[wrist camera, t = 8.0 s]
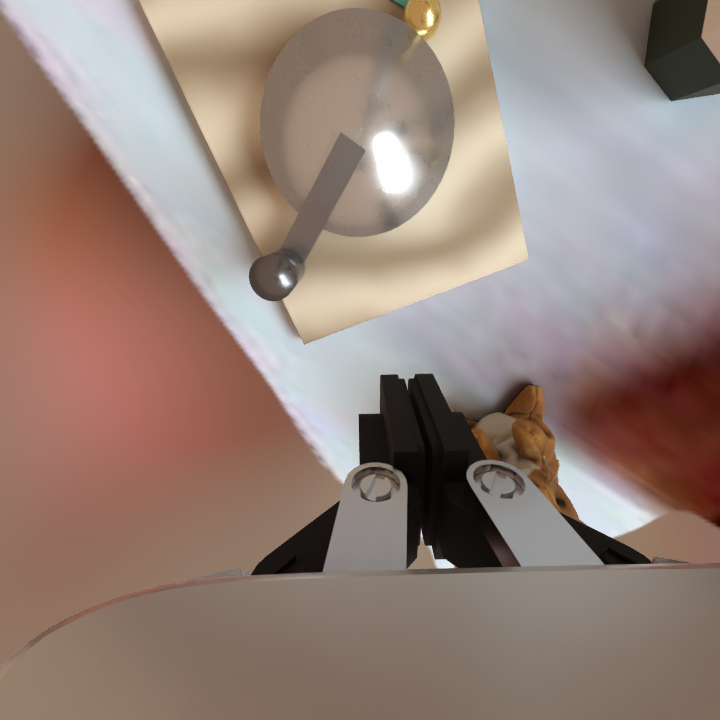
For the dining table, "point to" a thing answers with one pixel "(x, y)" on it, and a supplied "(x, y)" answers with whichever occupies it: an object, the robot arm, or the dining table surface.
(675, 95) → the wine bottle
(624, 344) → the dining table surface
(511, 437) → the stuffed squirrel
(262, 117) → the silver rounded piece
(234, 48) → the stand board
